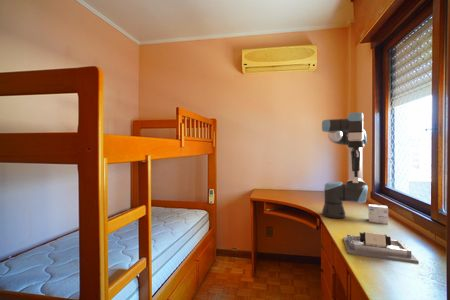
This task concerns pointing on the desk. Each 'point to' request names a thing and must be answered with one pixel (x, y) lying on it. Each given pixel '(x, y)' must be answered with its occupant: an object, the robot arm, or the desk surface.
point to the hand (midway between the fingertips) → (355, 182)
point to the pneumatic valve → (375, 239)
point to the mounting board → (379, 254)
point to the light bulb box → (378, 214)
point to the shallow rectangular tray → (394, 249)
